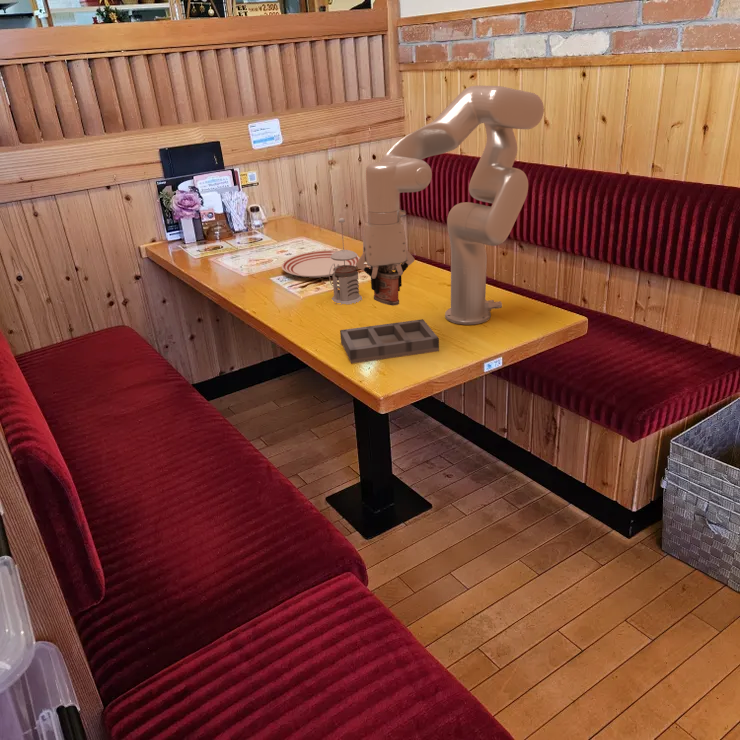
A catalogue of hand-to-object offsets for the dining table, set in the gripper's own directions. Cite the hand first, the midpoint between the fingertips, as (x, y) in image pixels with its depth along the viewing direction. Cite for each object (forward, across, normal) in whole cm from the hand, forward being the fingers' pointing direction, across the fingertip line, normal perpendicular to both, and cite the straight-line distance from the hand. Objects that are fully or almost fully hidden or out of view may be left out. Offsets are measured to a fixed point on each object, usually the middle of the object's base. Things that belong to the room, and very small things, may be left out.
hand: (386, 290), depth 165 cm
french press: (+15, +4, -38) cm, 42 cm away
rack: (+15, 0, 0) cm, 15 cm away
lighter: (+3, 0, 0) cm, 3 cm away
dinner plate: (+16, +6, -72) cm, 73 cm away
